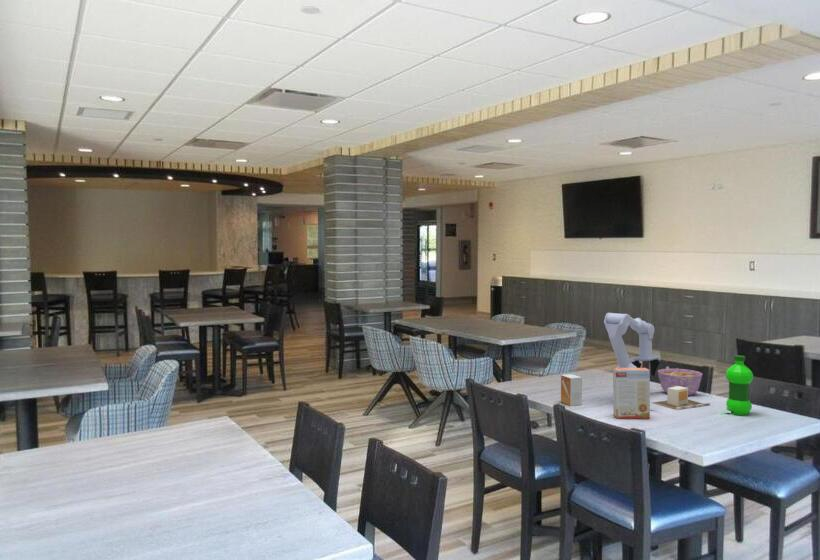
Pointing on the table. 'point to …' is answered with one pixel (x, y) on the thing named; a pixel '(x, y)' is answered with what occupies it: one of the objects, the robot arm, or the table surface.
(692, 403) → the shelf board
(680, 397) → the carton
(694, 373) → the bowl of food
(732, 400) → the plastic bottle
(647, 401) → the cracker box
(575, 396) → the small box
